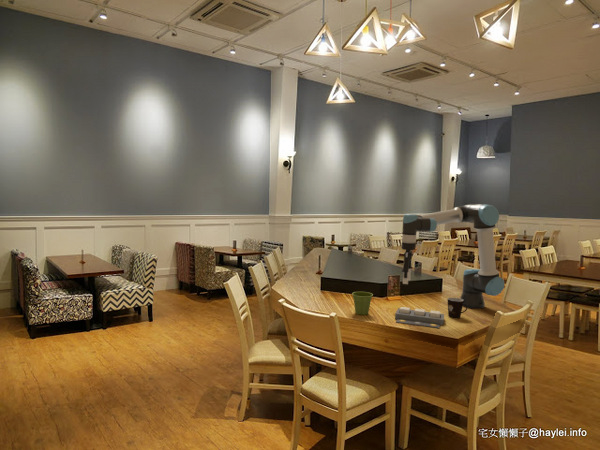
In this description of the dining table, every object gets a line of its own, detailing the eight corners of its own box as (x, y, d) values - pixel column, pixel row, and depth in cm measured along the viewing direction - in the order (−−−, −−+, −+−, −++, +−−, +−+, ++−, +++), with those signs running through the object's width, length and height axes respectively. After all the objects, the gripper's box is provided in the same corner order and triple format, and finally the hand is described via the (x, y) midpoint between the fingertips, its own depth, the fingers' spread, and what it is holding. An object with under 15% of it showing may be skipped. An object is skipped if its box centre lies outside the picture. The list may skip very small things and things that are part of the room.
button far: (410, 312, 242) (410, 307, 241) (409, 314, 237) (409, 310, 237) (400, 310, 243) (401, 306, 243) (399, 313, 239) (400, 308, 238)
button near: (440, 315, 236) (440, 311, 236) (439, 318, 231) (439, 313, 231) (430, 314, 238) (430, 310, 238) (429, 317, 233) (430, 312, 233)
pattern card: (439, 325, 228) (439, 324, 228) (439, 328, 222) (439, 327, 222) (397, 319, 235) (397, 318, 235) (396, 322, 230) (396, 321, 230)
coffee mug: (443, 314, 249) (444, 297, 248) (458, 314, 249) (459, 297, 249) (452, 320, 237) (453, 302, 236) (467, 320, 238) (468, 302, 237)
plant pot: (355, 309, 253) (356, 290, 252) (375, 312, 247) (376, 293, 246) (347, 314, 243) (348, 294, 242) (367, 317, 237) (368, 297, 236)
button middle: (424, 313, 239) (425, 309, 239) (424, 316, 234) (424, 312, 234) (415, 312, 241) (415, 308, 240) (414, 315, 236) (414, 310, 236)
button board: (443, 319, 239) (444, 314, 239) (442, 325, 228) (443, 319, 227) (398, 313, 247) (398, 308, 247) (394, 318, 236) (395, 313, 236)
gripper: (404, 239, 249) (402, 277, 251) (399, 243, 228) (396, 285, 229) (417, 240, 246) (415, 278, 248) (413, 244, 225) (411, 286, 227)
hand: (406, 281), depth 239 cm, fingers open, 10 cm apart
